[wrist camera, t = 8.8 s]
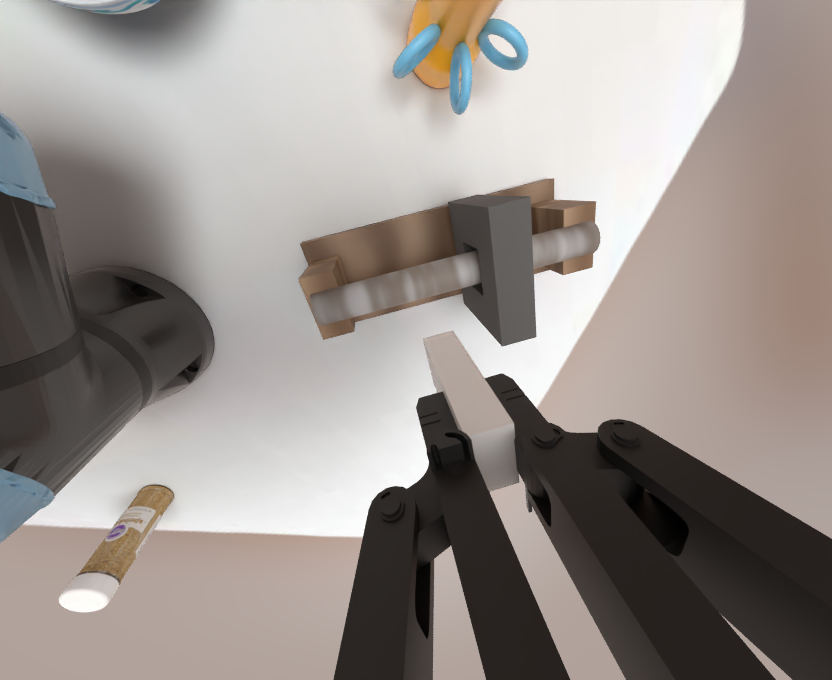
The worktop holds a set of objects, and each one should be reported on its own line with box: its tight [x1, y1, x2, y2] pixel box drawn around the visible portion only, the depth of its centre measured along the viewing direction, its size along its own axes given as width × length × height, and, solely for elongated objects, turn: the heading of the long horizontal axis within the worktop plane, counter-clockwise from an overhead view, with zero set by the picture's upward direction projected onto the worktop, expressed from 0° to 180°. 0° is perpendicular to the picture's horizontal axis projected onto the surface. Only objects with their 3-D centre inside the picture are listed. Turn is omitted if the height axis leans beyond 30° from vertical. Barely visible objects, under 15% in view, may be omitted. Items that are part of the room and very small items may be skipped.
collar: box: [448, 195, 536, 346], centre depth 28 cm, size 3×11×11 cm, turn 13°
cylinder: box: [393, 0, 528, 114], centre depth 21 cm, size 12×10×15 cm
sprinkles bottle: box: [59, 486, 173, 612], centre depth 39 cm, size 5×5×13 cm
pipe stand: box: [298, 179, 600, 340], centre depth 31 cm, size 28×10×11 cm, turn 103°
